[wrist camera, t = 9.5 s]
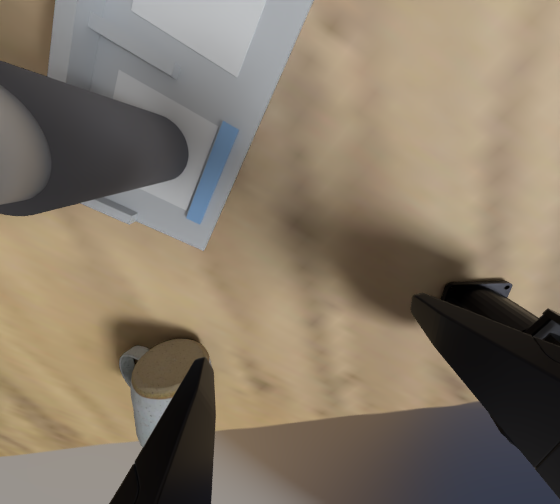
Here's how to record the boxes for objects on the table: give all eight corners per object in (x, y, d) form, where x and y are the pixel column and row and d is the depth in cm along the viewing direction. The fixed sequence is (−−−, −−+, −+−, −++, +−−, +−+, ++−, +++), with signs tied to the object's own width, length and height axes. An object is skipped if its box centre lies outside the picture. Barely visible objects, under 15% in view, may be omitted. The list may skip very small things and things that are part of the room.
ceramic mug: (218, 334, 25) (195, 404, 18) (220, 384, 29) (202, 460, 22) (120, 329, 25) (59, 399, 18) (134, 380, 28) (87, 456, 21)
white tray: (135, -270, 11) (97, -385, 8) (348, -81, 13) (364, -128, 11) (63, 185, 19) (34, 191, 16) (205, 248, 21) (196, 260, 19)
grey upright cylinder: (169, 103, 16) (-141, -46, 4) (199, 169, 18) (42, 202, 6) (111, 126, 17) (-317, 55, 5) (146, 189, 18) (-100, 256, 6)
